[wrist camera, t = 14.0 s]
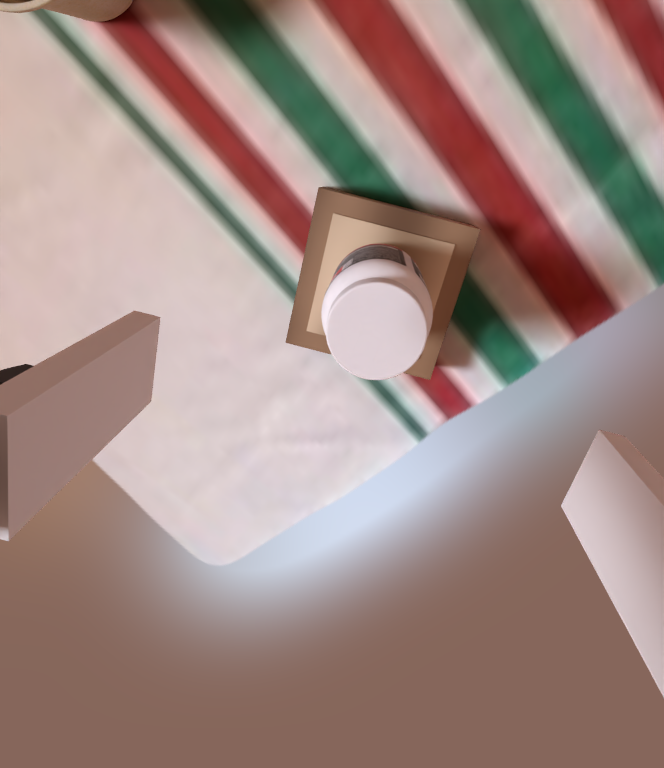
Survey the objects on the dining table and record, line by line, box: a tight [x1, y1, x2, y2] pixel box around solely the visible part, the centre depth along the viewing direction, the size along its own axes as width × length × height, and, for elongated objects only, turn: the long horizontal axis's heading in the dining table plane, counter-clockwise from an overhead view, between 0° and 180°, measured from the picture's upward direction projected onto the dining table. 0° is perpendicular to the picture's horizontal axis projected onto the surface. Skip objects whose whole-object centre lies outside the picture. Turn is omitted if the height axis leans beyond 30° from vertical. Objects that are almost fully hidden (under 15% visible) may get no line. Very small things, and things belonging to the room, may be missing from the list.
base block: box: [286, 187, 481, 380], centre depth 34 cm, size 10×10×3 cm
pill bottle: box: [321, 243, 433, 380], centre depth 28 cm, size 6×6×10 cm
